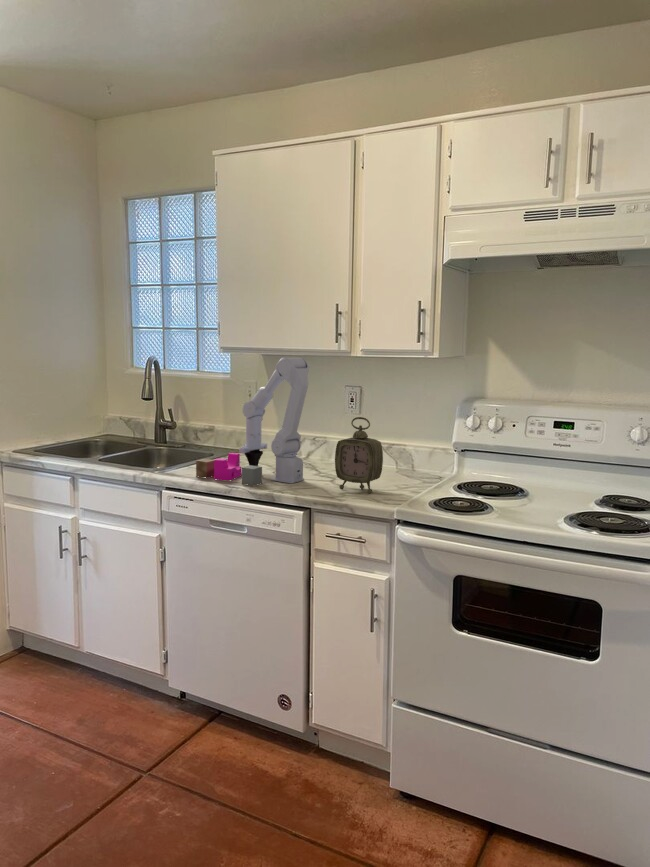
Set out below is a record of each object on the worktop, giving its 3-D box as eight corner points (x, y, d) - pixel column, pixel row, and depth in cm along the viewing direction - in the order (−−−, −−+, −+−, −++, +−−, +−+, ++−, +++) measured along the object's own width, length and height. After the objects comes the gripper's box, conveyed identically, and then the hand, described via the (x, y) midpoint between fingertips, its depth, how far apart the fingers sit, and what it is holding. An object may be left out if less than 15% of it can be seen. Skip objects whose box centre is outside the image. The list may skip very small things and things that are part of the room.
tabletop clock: (334, 489, 226) (335, 416, 222) (347, 484, 233) (348, 414, 230) (372, 495, 218) (374, 420, 215) (384, 490, 226) (386, 417, 222)
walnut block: (215, 476, 243) (215, 460, 242) (206, 478, 239) (206, 462, 238) (205, 474, 246) (205, 458, 245) (196, 476, 242) (196, 460, 241)
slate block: (261, 483, 233) (262, 466, 232) (253, 486, 228) (253, 469, 228) (250, 481, 235) (250, 465, 234) (241, 484, 231) (241, 467, 230)
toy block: (230, 481, 236) (230, 460, 235) (214, 480, 237) (214, 459, 236) (245, 473, 250) (245, 453, 249) (230, 472, 251) (230, 452, 250)
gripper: (256, 431, 255) (256, 465, 257) (232, 435, 242) (232, 471, 244) (271, 432, 251) (271, 467, 253) (248, 437, 239) (248, 474, 241)
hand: (253, 470), depth 249 cm, fingers closed
